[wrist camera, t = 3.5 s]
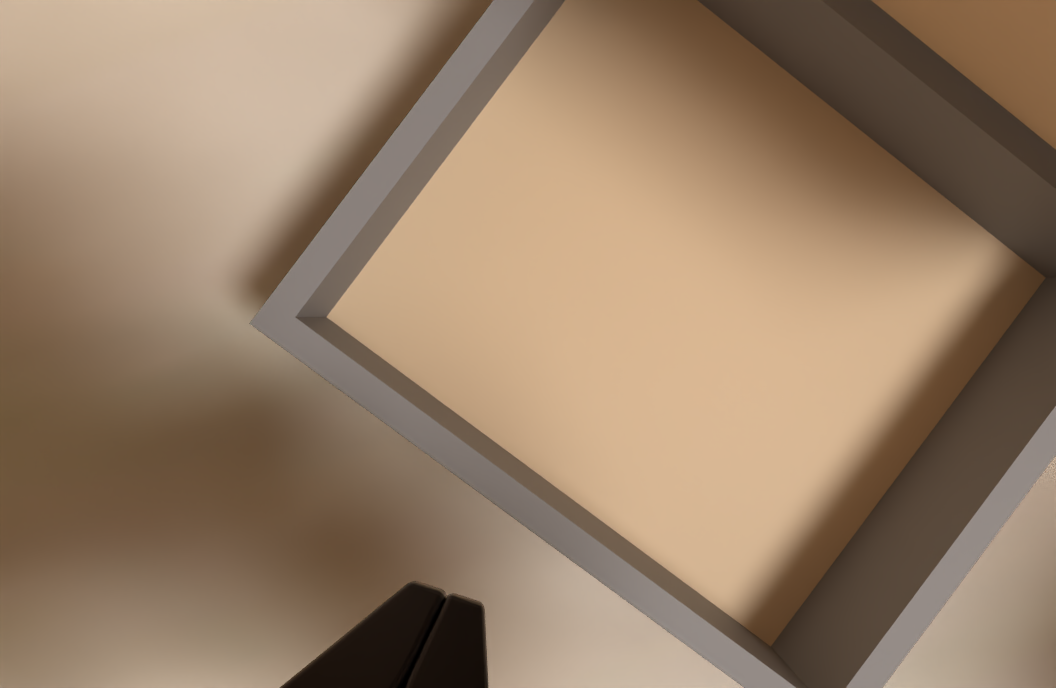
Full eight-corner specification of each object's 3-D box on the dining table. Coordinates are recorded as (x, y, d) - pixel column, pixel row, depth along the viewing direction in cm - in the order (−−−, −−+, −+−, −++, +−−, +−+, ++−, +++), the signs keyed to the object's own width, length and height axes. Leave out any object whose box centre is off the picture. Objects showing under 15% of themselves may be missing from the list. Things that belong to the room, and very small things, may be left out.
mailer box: (766, 671, 21) (833, 753, 17) (294, 322, 20) (249, 323, 16) (1063, 273, 21) (1197, 264, 17) (605, -92, 21) (637, -190, 17)
